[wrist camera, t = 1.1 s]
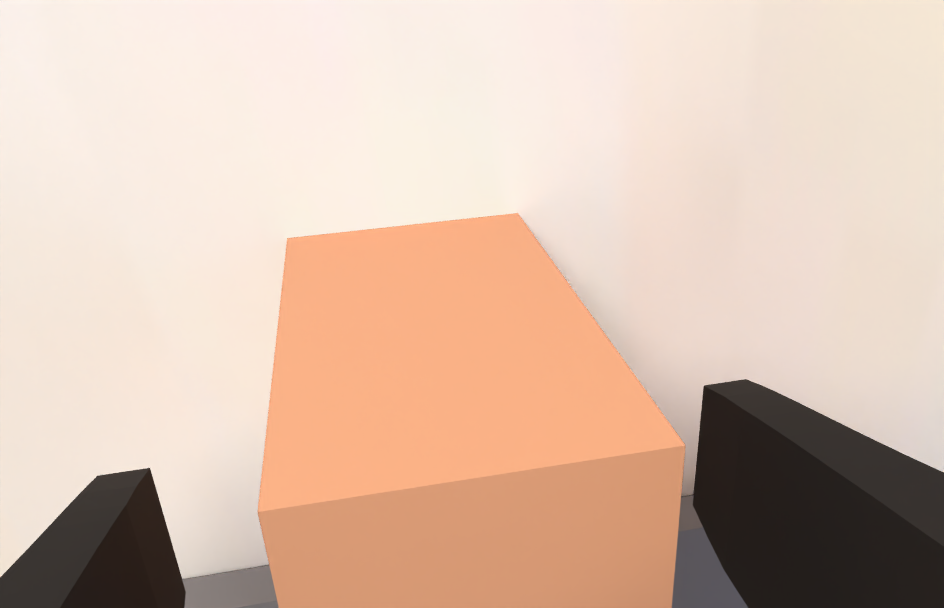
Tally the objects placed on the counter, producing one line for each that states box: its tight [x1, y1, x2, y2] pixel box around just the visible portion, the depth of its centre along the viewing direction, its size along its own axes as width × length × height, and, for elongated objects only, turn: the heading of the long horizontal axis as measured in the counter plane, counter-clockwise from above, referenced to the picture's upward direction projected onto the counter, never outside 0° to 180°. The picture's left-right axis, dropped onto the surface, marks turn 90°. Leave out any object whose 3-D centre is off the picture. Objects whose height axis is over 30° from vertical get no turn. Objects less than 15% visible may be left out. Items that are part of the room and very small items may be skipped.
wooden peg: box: [258, 213, 685, 608], centre depth 11 cm, size 4×4×7 cm
